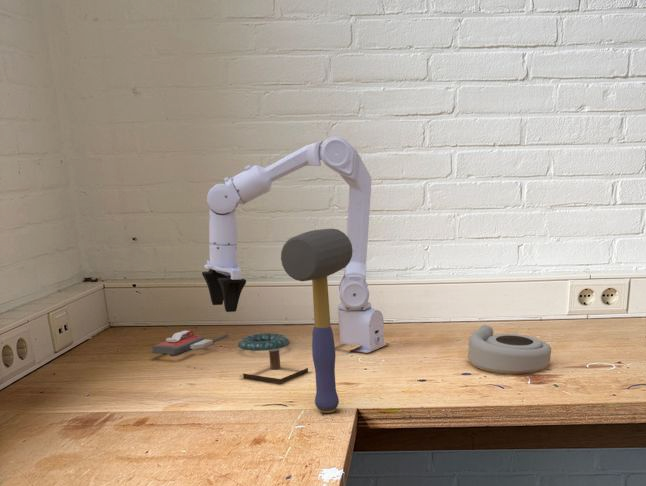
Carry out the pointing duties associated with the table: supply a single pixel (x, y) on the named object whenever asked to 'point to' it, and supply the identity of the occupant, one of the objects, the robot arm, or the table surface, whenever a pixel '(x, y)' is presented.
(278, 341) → the hang ring
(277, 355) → the post
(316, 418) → the table surface
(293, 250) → the rubber mallet
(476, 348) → the turbocharger housing
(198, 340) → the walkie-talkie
